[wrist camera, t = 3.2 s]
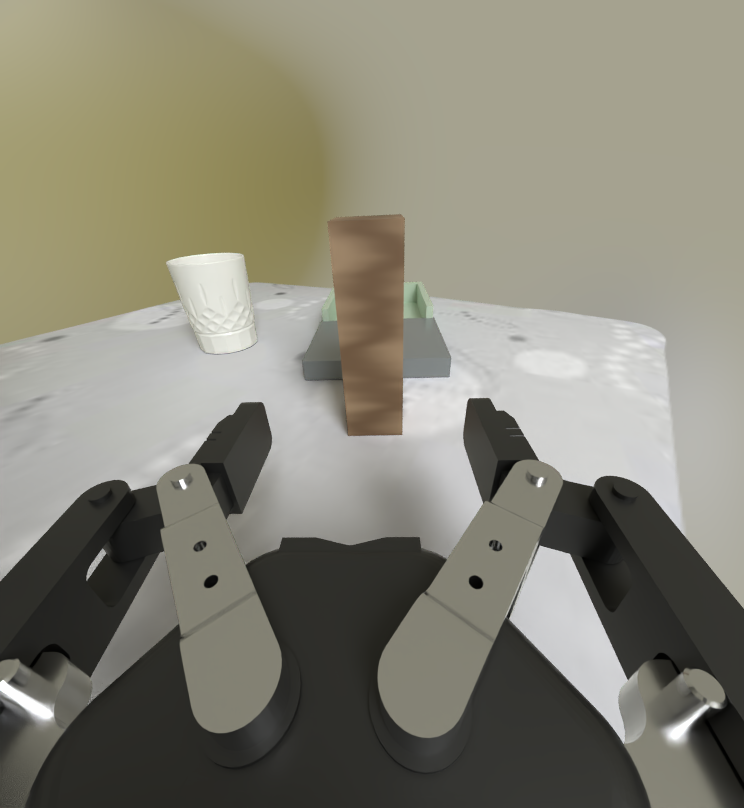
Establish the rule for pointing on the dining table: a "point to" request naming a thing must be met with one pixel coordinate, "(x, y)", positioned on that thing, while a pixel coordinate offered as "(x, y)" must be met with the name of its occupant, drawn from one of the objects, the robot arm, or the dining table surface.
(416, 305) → the tray
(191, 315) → the white cup
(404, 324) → the plate
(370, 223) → the tall wooden post
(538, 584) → the dining table surface
